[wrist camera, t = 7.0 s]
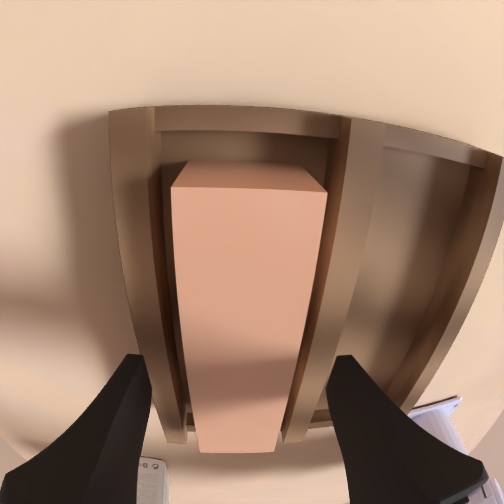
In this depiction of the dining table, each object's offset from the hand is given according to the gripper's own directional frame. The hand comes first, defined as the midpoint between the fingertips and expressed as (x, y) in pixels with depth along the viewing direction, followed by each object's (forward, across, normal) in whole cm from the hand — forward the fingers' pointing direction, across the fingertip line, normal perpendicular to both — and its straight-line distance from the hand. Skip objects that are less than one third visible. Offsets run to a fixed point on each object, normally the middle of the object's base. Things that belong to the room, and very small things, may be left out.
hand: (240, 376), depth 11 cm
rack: (+4, -4, 0) cm, 6 cm away
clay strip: (+3, 0, 0) cm, 3 cm away
